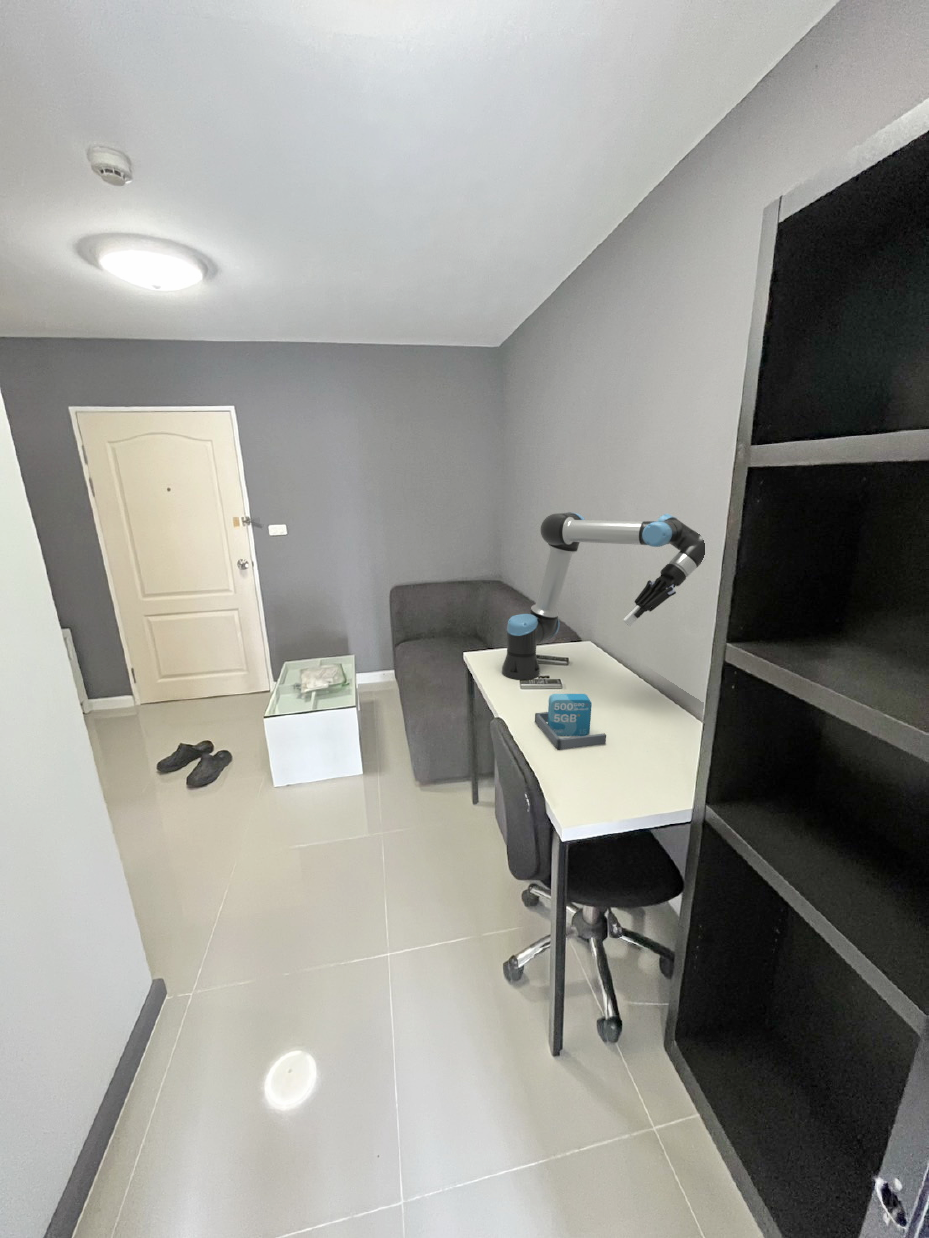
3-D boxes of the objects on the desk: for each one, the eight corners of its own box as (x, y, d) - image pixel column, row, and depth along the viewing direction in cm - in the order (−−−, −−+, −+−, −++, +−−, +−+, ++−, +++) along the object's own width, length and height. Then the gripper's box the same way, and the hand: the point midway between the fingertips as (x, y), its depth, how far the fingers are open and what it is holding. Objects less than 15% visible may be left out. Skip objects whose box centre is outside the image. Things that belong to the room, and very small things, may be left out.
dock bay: (534, 721, 155) (535, 713, 154) (578, 717, 158) (578, 708, 157) (557, 750, 138) (558, 740, 137) (605, 744, 141) (606, 734, 140)
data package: (549, 736, 146) (551, 699, 143) (547, 729, 150) (548, 693, 147) (589, 736, 146) (592, 699, 143) (585, 729, 150) (588, 693, 147)
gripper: (697, 581, 152) (644, 635, 153) (671, 575, 165) (622, 625, 165) (684, 565, 150) (630, 620, 151) (659, 559, 162) (609, 610, 163)
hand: (626, 622), depth 158 cm, fingers closed
